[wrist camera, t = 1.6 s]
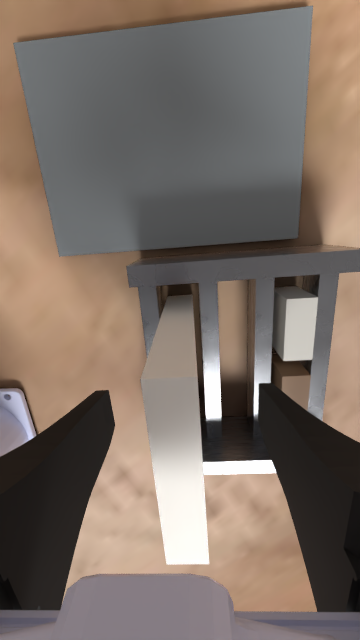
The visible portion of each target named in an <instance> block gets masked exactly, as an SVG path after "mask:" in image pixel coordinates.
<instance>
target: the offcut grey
mask: <svg viewBox="0 0 360 640" xmlns="http://www.w3.org/2000/svg"><path fill="white" fill-rule="evenodd" d="M317 305H318V297H317V296H315V295H313V294H311V293H309V292H307V291H305V290H303V289H301V288H299V287H297V286H290V287H275V288H274V306H273V331H272V346H273V348H274V349H275V350H276V352H277V353H278V354H279V356H280V357H281V359H282V360H283V361H296V360H312V358H313V347H314V337H315V326H316V316H317Z"/></svg>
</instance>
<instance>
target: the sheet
mask: <svg viewBox="0 0 360 640" xmlns="http://www.w3.org/2000/svg"><path fill="white" fill-rule="evenodd" d="M140 380H141V387H142V394H143V401H144V408H145V415H146V422H147V429H148V436H149V444H150V451H151V458H152V465H153V472H154V479H155V486H156V493H157V500H158V507H159V514H160V521H161V528H162V535H163V543H164V550H165V557H166V564H209V555H208V539H207V522H206V506H205V490H204V473H203V457H202V441H201V425H200V408H199V392H198V376H197V360H196V344H195V328H194V312H193V296H192V295H179V296H167V300H166V303H165V306H164V309H163V312H162V315H161V318H160V321H159V324H158V327H157V330H156V333H155V336H154V339H153V342H152V345H151V349H150V352H149V355H148V358H147V361H146V364H145V367H144V370H143V373H142V376H141V379H140Z"/></svg>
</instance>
